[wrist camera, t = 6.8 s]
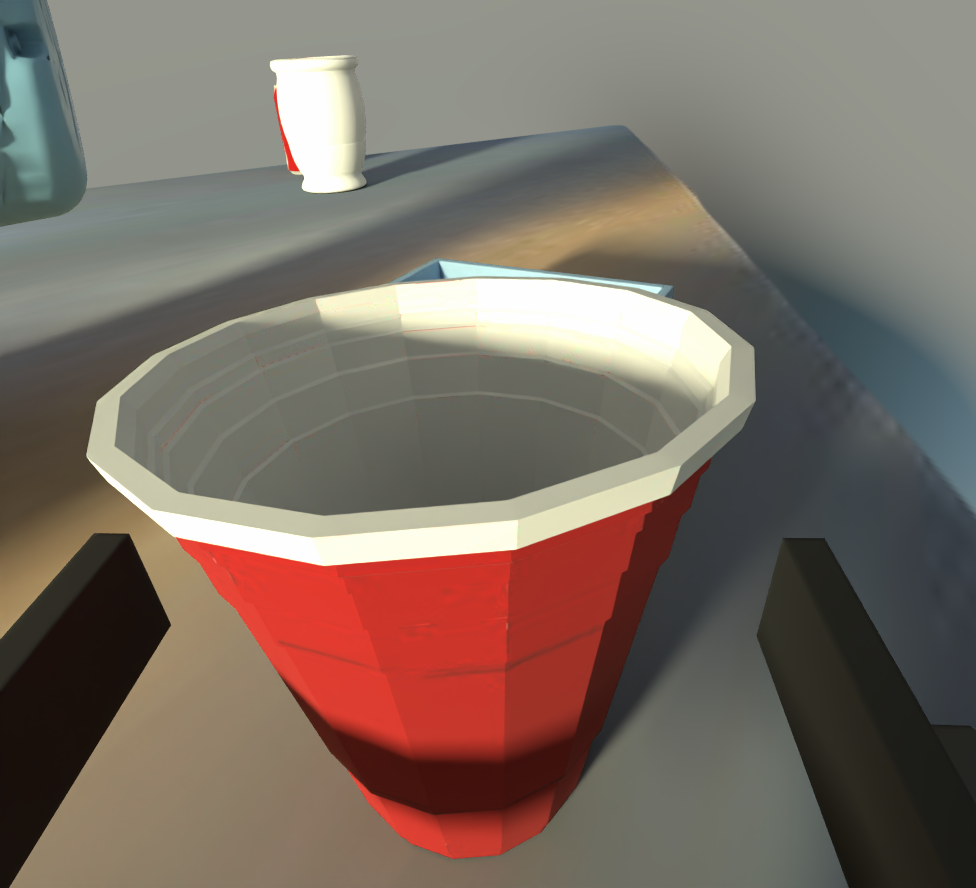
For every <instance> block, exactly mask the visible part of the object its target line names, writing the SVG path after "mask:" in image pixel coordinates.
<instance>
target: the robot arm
mask: <svg viewBox="0 0 976 888" xmlns="http://www.w3.org/2000/svg"><path fill="white" fill-rule="evenodd" d="M86 185H87V171H86V164H85V158H84V153H83V147H82V143H81V137H80V133H79V128H78V124H77V119H76V115H75V110H74V106H73V101H72V97H71V93H70V89H69V85H68V80H67V76H66V72H65V68H64V64H63V60H62V56H61V52H60V48H59V44H58V40H57V36H56V32H55V28H54V25H53V21H52V17H51V13H50V9H49V6H48V2H47V0H0V227H1V226H7V225H12V224H18V223H23V222H28V221H34V220H39V219H45V218H50V217H56V216H60V215H63V214H65V213H67V212H69V211H70V210H72V209H73V208H74V207H75V206H77V205H78V203H79V202H80V201H81V199H82V197H83V195H84V193H85V190H86ZM170 626H171V624H170V621H169V619H168V617H167V615H166V613H165V611H164V608H163V606H162V604H161V602H160V600H159V598H158V595H157V593H156V591H155V589H154V587H153V584H152V582H151V580H150V578H149V576H148V574H147V571H146V569H145V567H144V565H143V563H142V561H141V558H140V556H139V554H138V552H137V550H136V548H135V545H134V543H133V541H132V539H131V537H130V535H129V534H109V533H94V534H93V535H92V536H91V537H90V539H89V540H88V541H87V542H86V543H85V544H84V545H83V547H82V548H81V549H80V550H79V551H78V552H77V553H76V554H75V556H74V557H73V558H72V559H71V560H70V561H69V562H68V563H67V565H66V566H65V567H64V568H63V569H62V570H61V571H60V573H59V574H58V575H57V576H56V577H55V578H54V579H53V580H52V582H51V583H50V584H49V585H48V586H47V587H46V588H45V590H44V591H43V592H42V593H41V594H40V595H39V596H38V597H37V599H36V600H35V601H34V602H33V603H32V604H31V605H30V606H29V608H28V609H27V610H26V611H25V612H24V613H23V614H22V616H21V617H20V618H19V619H18V620H17V621H16V622H15V623H14V625H13V626H12V627H11V628H10V629H9V630H8V631H7V633H6V634H5V635H4V636H3V637H2V638H1V639H0V888H9V887H10V885H11V884H12V882H13V880H14V879H15V877H16V875H17V874H18V872H19V871H20V869H21V867H22V866H23V864H24V863H25V861H26V859H27V858H28V856H29V854H30V853H31V851H32V850H33V848H34V846H35V845H36V843H37V841H38V840H39V838H40V837H41V835H42V833H43V832H44V830H45V828H46V827H47V825H48V824H49V822H50V820H51V819H52V817H53V816H54V814H55V812H56V811H57V809H58V807H59V806H60V804H61V803H62V801H63V799H64V798H65V796H66V794H67V793H68V791H69V790H70V788H71V786H72V785H73V783H74V781H75V780H76V778H77V777H78V775H79V773H80V772H81V770H82V768H83V767H84V765H85V764H86V762H87V760H88V759H89V757H90V756H91V754H92V752H93V751H94V749H95V747H96V746H97V744H98V743H99V741H100V739H101V738H102V736H103V734H104V733H105V731H106V730H107V728H108V726H109V725H110V723H111V721H112V720H113V718H114V717H115V715H116V713H117V712H118V710H119V709H120V707H121V705H122V704H123V702H124V700H125V699H126V697H127V696H128V694H129V692H130V691H131V689H132V687H133V686H134V684H135V683H136V681H137V679H138V678H139V676H140V674H141V673H142V671H143V670H144V668H145V666H146V665H147V663H148V661H149V660H150V658H151V657H152V655H153V653H154V652H155V650H156V649H157V647H158V645H159V644H160V642H161V640H162V639H163V637H164V636H165V634H166V632H167V631H168V629H169V627H170ZM757 638H758V641H759V643H760V646H761V649H762V652H763V654H764V657H765V660H766V663H767V665H768V668H769V671H770V674H771V676H772V679H773V682H774V684H775V687H776V690H777V693H778V695H779V698H780V701H781V704H782V706H783V709H784V712H785V715H786V717H787V720H788V723H789V725H790V728H791V731H792V734H793V736H794V739H795V742H796V745H797V747H798V750H799V753H800V755H801V758H802V761H803V764H804V766H805V769H806V772H807V775H808V777H809V780H810V783H811V786H812V788H813V791H814V794H815V796H816V799H817V802H818V805H819V807H820V810H821V813H822V816H823V818H824V821H825V824H826V827H827V829H828V832H829V835H830V837H831V840H832V843H833V846H834V848H835V851H836V854H837V857H838V859H839V862H840V865H841V867H842V870H843V873H844V876H845V878H846V881H847V884H848V887H849V888H976V731H975V730H974V729H973V728H972V727H971V726H958V725H931V724H930V722H929V720H928V719H927V717H926V715H925V713H924V712H923V710H922V708H921V706H920V705H919V703H918V701H917V699H916V698H915V696H914V694H913V692H912V691H911V689H910V687H909V685H908V684H907V682H906V680H905V678H904V677H903V675H902V673H901V671H900V670H899V668H898V666H897V664H896V663H895V661H894V659H893V657H892V656H891V654H890V652H889V650H888V649H887V647H886V645H885V643H884V642H883V640H882V638H881V636H880V635H879V633H878V631H877V629H876V628H875V626H874V624H873V622H872V621H871V619H870V617H869V615H868V614H867V612H866V610H865V608H864V607H863V605H862V603H861V601H860V600H859V598H858V596H857V594H856V593H855V591H854V589H853V587H852V586H851V584H850V582H849V580H848V579H847V577H846V575H845V573H844V572H843V570H842V568H841V566H840V565H839V563H838V561H837V559H836V558H835V556H834V554H833V552H832V551H831V549H830V547H829V545H828V544H827V542H826V540H825V538H783V540H782V544H781V547H780V551H779V555H778V559H777V562H776V566H775V570H774V573H773V577H772V581H771V585H770V588H769V592H768V596H767V599H766V603H765V607H764V611H763V614H762V618H761V622H760V625H759V629H758V633H757Z"/></svg>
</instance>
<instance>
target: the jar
mask: <svg viewBox="0 0 976 888" xmlns="http://www.w3.org/2000/svg"><path fill="white" fill-rule="evenodd" d="M357 65H358V60H357V57H355V56H325V57H307V58H290V59H278V60H273V61H271V62H270V67H271V69H272V70H273V71H274V72H276V74H277V101H278V109H279V115H280V119H281V123H282V127H283V130H284V133H285V136H286V139H287V141H288V143H289V147H290V150H291V153H292V156H293V159H294V161H295V163H296V165H297V167H298V168H299V170H300V172H301V173H302V174H303V175H304V181H303V184H302V188H303V190H305V191H307V192H312V193H335V192H343V191H349V190H354V189H358V188H361V187H363V186H364V185H366V179H365V177H364V176H363V175H362V173H361V169H362V168H363V164H364V160H365V152H366V141H365V134H366V117H365V108H364V102H363V97H362V93H361V89H360V85H359V82H358V79H357V77H356V74H355V68H356V66H357Z"/></svg>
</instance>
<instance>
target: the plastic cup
mask: <svg viewBox="0 0 976 888" xmlns="http://www.w3.org/2000/svg"><path fill="white" fill-rule="evenodd" d="M755 401H756V396H755V362H754V347H753V346H752V345H750V344H749V343H748V342H747V341H745V340H744V339H743V338H742V337H740V336H739V335H738V334H737V333H735V332H734V331H733V330H731V329H730V328H729V327H728V326H726V325H725V324H724V323H723V322H721V321H720V320H719V319H718V318H716V317H715V316H714V315H713V314H711V313H710V312H709V311H707V310H704V309H701V308H698V307H695V306H692V305H689V304H686V303H683V302H680V301H677V300H674V299H671V298H668V297H665V296H661V295H658V294H655V293H652V292H649V291H646V290H643V289H640V288H634V287H626V286H619V285H612V284H605V283H597V282H590V281H583V280H576V279H568V278H561V277H505V276H472V277H460V278H447V279H435V280H422V281H410V282H397V283H390V284H384V285H378V286H373V287H367V288H361V289H356V290H350V291H344V292H339V293H333V294H327V295H321V296H316V297H310V298H306V299H303V300H299V301H296V302H292V303H289V304H285V305H282V306H279V307H275V308H272V309H268V310H265V311H261V312H258V313H254V314H251V315H247V316H244V317H240V318H237V319H234V320H230V321H227V322H224V323H222V324H220V325H218V326H216V327H214V328H211V329H209V330H207V331H205V332H203V333H200V334H198V335H196V336H194V337H192V338H189V339H187V340H185V341H183V342H181V343H179V344H176V345H174V346H172V347H170V348H168V349H165V350H163V351H161V352H159V353H157V354H154V355H152V356H151V357H150V358H148V359H147V360H146V361H145V362H144V363H142V364H141V365H140V366H139V367H138V368H136V369H135V370H134V371H133V372H132V373H130V374H129V375H128V376H127V377H126V378H124V379H123V380H122V381H121V382H120V383H118V384H117V385H116V386H115V387H114V388H112V389H111V390H110V391H109V392H108V393H107V394H105V395H104V396H103V397H102V398H101V399H99V400H98V401H97V404H96V409H95V414H94V419H93V424H92V429H91V434H90V439H89V444H88V449H87V454H86V457H87V458H88V459H89V461H90V462H91V463H92V464H93V465H94V466H95V468H96V469H97V470H98V471H99V472H100V473H101V475H102V476H103V477H104V478H105V479H106V480H107V481H108V482H109V483H110V484H111V485H112V486H113V487H115V488H116V489H117V490H118V491H119V492H121V493H122V494H123V495H124V496H125V497H127V498H128V499H129V500H130V501H131V502H133V503H134V504H135V505H136V506H137V507H139V508H140V509H141V510H142V511H143V512H145V513H146V514H147V515H148V516H149V517H151V518H152V519H153V520H154V521H155V522H157V523H158V524H159V525H160V526H161V527H163V528H164V529H165V530H166V531H167V532H169V533H170V534H171V535H172V536H173V537H176V538H177V540H178V541H179V543H180V545H181V546H182V548H183V549H184V550H185V551H186V552H187V553H189V554H190V555H191V556H192V557H193V558H194V559H196V560H197V561H198V562H199V563H200V564H201V566H202V568H203V569H204V571H205V572H206V574H207V576H208V577H209V579H210V580H211V582H212V583H213V585H214V587H215V588H216V590H217V591H218V593H219V594H220V595H221V596H222V597H223V598H224V599H225V600H226V601H228V602H229V603H230V604H231V605H232V606H233V607H234V608H235V609H236V610H237V611H238V613H239V615H240V616H241V618H242V619H243V621H244V622H245V624H246V625H247V627H248V628H249V630H250V631H251V633H252V634H253V636H254V637H255V639H256V640H257V642H258V643H259V645H260V646H261V648H262V649H263V651H264V652H265V654H266V655H267V657H268V658H269V660H270V661H271V663H272V664H273V666H274V668H275V669H276V671H277V672H278V674H279V675H280V677H281V678H282V680H283V681H284V683H285V684H286V686H287V687H288V689H289V690H290V692H291V693H292V695H293V696H294V698H295V699H296V701H297V702H298V704H299V705H300V707H301V708H302V710H303V711H304V713H305V714H306V716H307V718H308V719H309V721H310V722H311V724H312V725H313V727H314V728H315V730H316V731H317V733H318V734H319V736H320V737H321V739H322V740H323V742H324V743H325V745H326V746H327V748H328V749H329V751H330V752H331V753H332V754H333V755H334V756H335V757H336V758H337V759H338V760H339V761H340V762H341V763H342V764H343V765H344V766H345V767H346V768H347V770H348V771H349V773H350V774H351V776H352V777H353V779H354V781H355V782H356V784H357V785H358V787H359V788H360V790H361V792H362V793H363V795H364V796H365V798H366V799H367V801H368V802H369V804H370V805H371V806H372V807H373V808H374V809H375V810H376V811H377V812H378V813H379V814H380V815H381V816H382V817H383V818H384V819H385V820H386V821H387V822H388V823H389V825H390V826H391V827H392V828H393V829H394V830H395V831H396V832H397V833H398V834H399V835H400V836H401V837H403V838H405V839H407V840H408V841H409V842H410V843H411V844H414V845H417V846H419V847H422V848H425V849H428V850H430V851H433V852H436V853H439V854H441V855H444V856H447V857H450V858H452V859H456V858H468V857H480V856H492V855H501V854H502V853H504V852H506V851H508V850H510V849H512V848H513V847H515V846H517V845H519V844H521V843H522V842H524V841H526V840H528V839H530V838H532V837H533V836H535V835H537V834H539V833H541V832H542V830H543V829H544V828H545V827H546V825H547V824H548V823H549V822H550V820H551V819H552V818H553V816H554V815H555V814H556V812H557V811H558V810H559V809H560V807H561V806H562V805H563V803H564V802H565V801H566V799H567V798H568V797H569V796H570V794H571V793H572V792H573V790H574V789H575V788H576V786H577V784H578V781H579V778H580V775H581V772H582V769H583V766H584V763H585V761H586V758H587V755H588V752H589V749H590V746H591V743H592V741H593V740H594V738H595V737H596V736H597V735H598V733H599V732H600V731H601V729H602V726H603V723H604V721H605V718H606V715H607V712H608V709H609V707H610V704H611V701H612V698H613V695H614V693H615V690H616V687H617V684H618V681H619V679H620V676H621V673H622V670H623V667H624V665H625V662H626V659H627V656H628V653H629V651H630V648H631V645H632V642H633V639H634V636H635V634H636V631H637V628H638V625H639V622H640V620H641V617H642V614H643V611H644V608H645V606H646V603H647V600H648V597H649V594H650V592H651V589H652V586H653V583H654V580H655V578H656V575H657V572H658V569H659V567H660V566H661V565H662V564H663V563H664V562H665V560H666V559H667V558H668V557H669V554H670V550H671V547H672V544H673V541H674V538H675V535H676V532H677V529H678V525H679V522H680V519H681V516H682V515H683V514H684V513H685V512H686V511H687V510H688V509H689V508H690V507H691V504H692V501H693V497H694V494H695V491H696V488H697V485H698V482H699V479H700V476H701V475H702V474H703V473H704V472H705V471H706V470H707V469H708V468H709V465H710V461H711V458H712V456H713V455H714V454H715V453H716V452H717V451H719V450H720V449H721V448H722V447H723V446H724V445H725V444H726V443H727V442H728V441H730V440H731V439H732V438H733V437H734V436H735V435H736V434H737V433H738V432H739V431H740V430H742V428H743V426H744V424H745V422H746V420H747V418H748V416H749V414H750V411H751V409H752V407H753V405H754V403H755Z"/></svg>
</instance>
